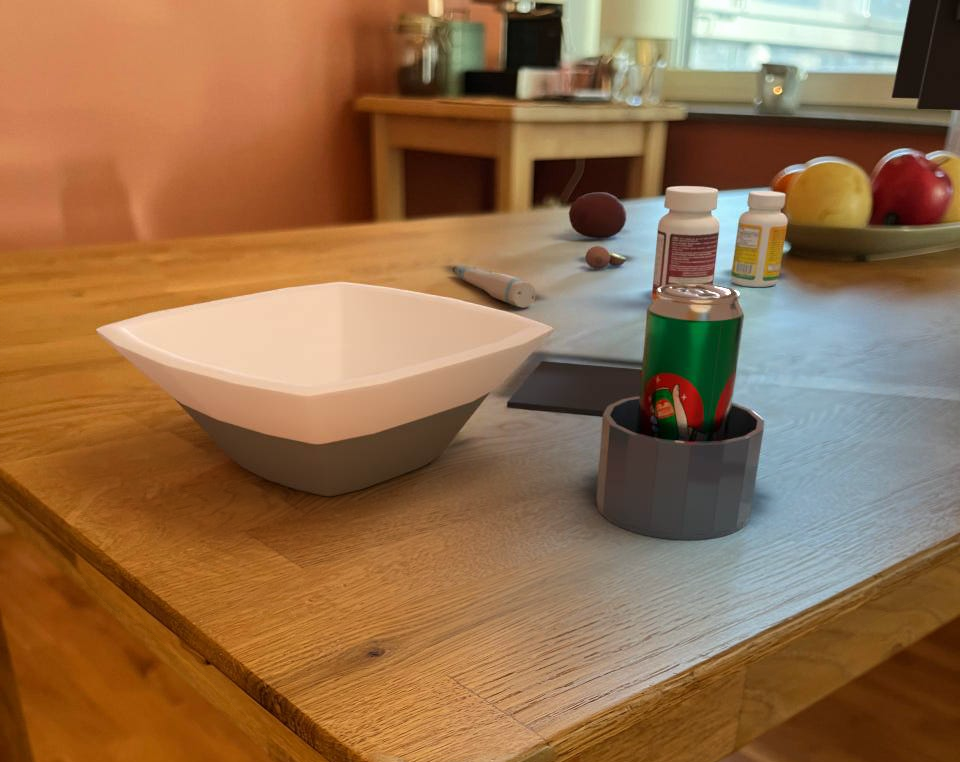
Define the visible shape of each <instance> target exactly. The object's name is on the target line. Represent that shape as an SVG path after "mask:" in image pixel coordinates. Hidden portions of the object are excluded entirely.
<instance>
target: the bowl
mask: <svg viewBox="0 0 960 762" xmlns="http://www.w3.org/2000/svg"><path fill="white" fill-rule="evenodd" d="M553 333H554V327H553V326H550V325H548V324H546V323H542V322H540V321H536V320H534V319H531V318H527V317H525V316H522V315H519V314H516V313H512V312H510V311H506V310H501V309H499V308H494V307H490V306H485V305H481V304H477V303H474V302H469V301H465V300H462V299H457V298H453V297H446V296H441V295H434V294H429V293H424V292H419V291H413V290H407V289H402V288H401V289H400V288H395V287H389V286H381V285H380V286H379V285H374V284H373V285H372V284H364V283H355V282H349V281H348V282H347V281H336V282H335V281H334V282H325V283H318V284H317V283H316V284H308V285H300V286H299V285H298V286H291V287H284V288H278V289H272V290H267V291H263V292H262V291H261V292H255V293H251V294H245V295H239V296H233V297H227V298H222V299H216V300H212V301H206V302H201V303H195V304H190V305H185V306H180V307H175V308H174V307H173V308H169V309H162V310H159V311H153V312H148V313H144V314H141V315H138V316H134V317H130V318H127V319H126V318H125V319H123V320H120V321H119V320H118V321H116V322H112V323H108V324H105V325H102V326H100V327H97V328H96V334H97V335H98V336H99V337H100V338H101V339H102V340H103V341H105V342H106V343H107V344H108V345H109V346H111V347H112V348H113V349H114V350H115V351H117V352H118V353H119V354H120V355H121V356H122V357H123V358H125V360H126V361H128V362H129V363H130V364H131V365H133V366H134V367H135V368H136V369H137V370H139V372H141V373H142V374H143V375H145V377H147V378H148V379H149V380H150V381H151V382H153V384H155V385H156V386H158V388H160V389H161V390H162V391H163V392H165V394H167V395H169V396H170V397H171V398H172V399H174V400H175V402H176V403H177V404H178V405H179V406H180V407H181V408H182V410H184V411H185V412H186V414H188V415H189V416H190V418H192V420H193V421H194V422H195V423H196V424H197V425H198V426H199V427H200V428H201V429H202V431H204V432H205V433H206V435H208V437H210V439H211V440H212V441H213V442H214V443H215V444H216V445H217V446H218V447H219V448H220V449H221V450H222V451H223V452H224V453H225V455H227V457H228V458H229V459H231V460H232V461H234V462H235V463H236V464H237V465H238V466H240V467H241V468H242V469H244V470H246V471H248V472H250V473H252V474H254V475H256V476H258V477H260V478H263V479H265V480H266V481H269V482H272V483H275V484H277V485H280V486H283V487H287V488H290V489H292V490H296V491H299V492H303V493H308V494H313V495H317V496H321V497H334V496H335V497H336V496H339V495H342V494H347V493H353V492H357V491H361V490H363V489H366V488H369V487H372V486H374V485H377V484H381V483H383V482H386V481H389V480H391V479H394V478H397V477H400V476H402V475H405V474H408V473H410V472H412V471H415V470H418V469H420V468H423V467H425V466H426V465H428V464H430V463H431V462H433V461H434V460H436V459H438V458H439V457H440V456H441V455H442V454H443V453H444V451H445V450H446V449H447V448H448V446H449V445H450V444H451V443H452V441H453V440H454V439H455V438H456V436H457V435H458V434H459V432H460V431H461V430H462V429H463V428H464V426H465V425H466V423H468V421H470V419H471V418H472V416H473V415H474V414H475V412H476V411H477V410H478V408H479V407H480V406H481V405H482V404H483V402H484V401H485V400H486V399H487V397H488V396H489V395H490V394H491V392H492V391H495V390H496V389H497V388H499V386H501V384H502V383H503V382H504V381H506V379H508V377H510V375H512V373H513V372H515V370H517V368H518V367H520V365H522V363H524V362H525V361H526V360H527V359H528V358H529V357H530V356H531V355H532V354H533V352H535V351H536V350H537V349H538V348H539V347H540V346H541V345H542V344H543V343H544V342H545V341H546V340H547V339H548V338H549V337H550V336H551V335H552V334H553Z"/></svg>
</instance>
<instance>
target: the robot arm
mask: <svg viewBox="0 0 960 762" xmlns="http://www.w3.org/2000/svg"><path fill="white" fill-rule="evenodd" d="M903 31H904V32H903V35H902V41H901V46H900V52H899V56H898V61H897V66H896V72H895V78H894V83H893V87H892V92H891V98H892V99H917V104H916V109H917V110H933V111H935V110H936V111H960V0H909V4H908V9H907V16H906V20H905V26H904V30H903Z"/></svg>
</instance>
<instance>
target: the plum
mask: <svg viewBox="0 0 960 762" xmlns="http://www.w3.org/2000/svg"><path fill="white" fill-rule="evenodd" d="M568 218H569V222H570V225H571V228H572V229H573V230H574V231H575V232H576V233H577V234H579V235H581V236H584V237H587V238H591V239H599V240H600V239H608V238H611V237H614V236H616V235H617V234H619V233H621V231H622V230H623V228H624V227H625V225H626V222H627V211H626V208H625V206H624V204H623V203H622V201H621V200H620V199H618V198H617V196H615V195H613V194H611V193H608V192H604V191H603V192H602V191H601V192H600V191H595V192H591V193H586V194H584V195H581V196H579V197H578V198H577V199H575V201H574V202H573V203H571V205H570V208H569V211H568Z"/></svg>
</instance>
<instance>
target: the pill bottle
mask: <svg viewBox="0 0 960 762" xmlns="http://www.w3.org/2000/svg"><path fill="white" fill-rule="evenodd" d="M718 197H719V190H718V189H717V188H714V187H708V186H696V185H695V186H694V185H676V186H669V187H667V188H666V189H665V196H664V203H663V207H664V208H665V209H668V210H669V211H668V213H666V214H664V215H663V216H662V217H661V218H660V219H659V221H658V225H657V232H656V233H657V234H656V243H655V257H654V267H653V276H652V277H653V278H652V279H653V280H652V291H651V303H652V302H653V301H654V300H655V298H656V297H657V295H656V290H657V288H659V287H661V286H664V285H669V284H678V283H699V284H711V285H714V281H715V272H716V263H717V253H718V246H719V237H720V227H721V226H720V225H721V224H720V221H719V219H718V218H717V217H716V216H714V215H713V214H712V211H715V210H716V209H718Z"/></svg>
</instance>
